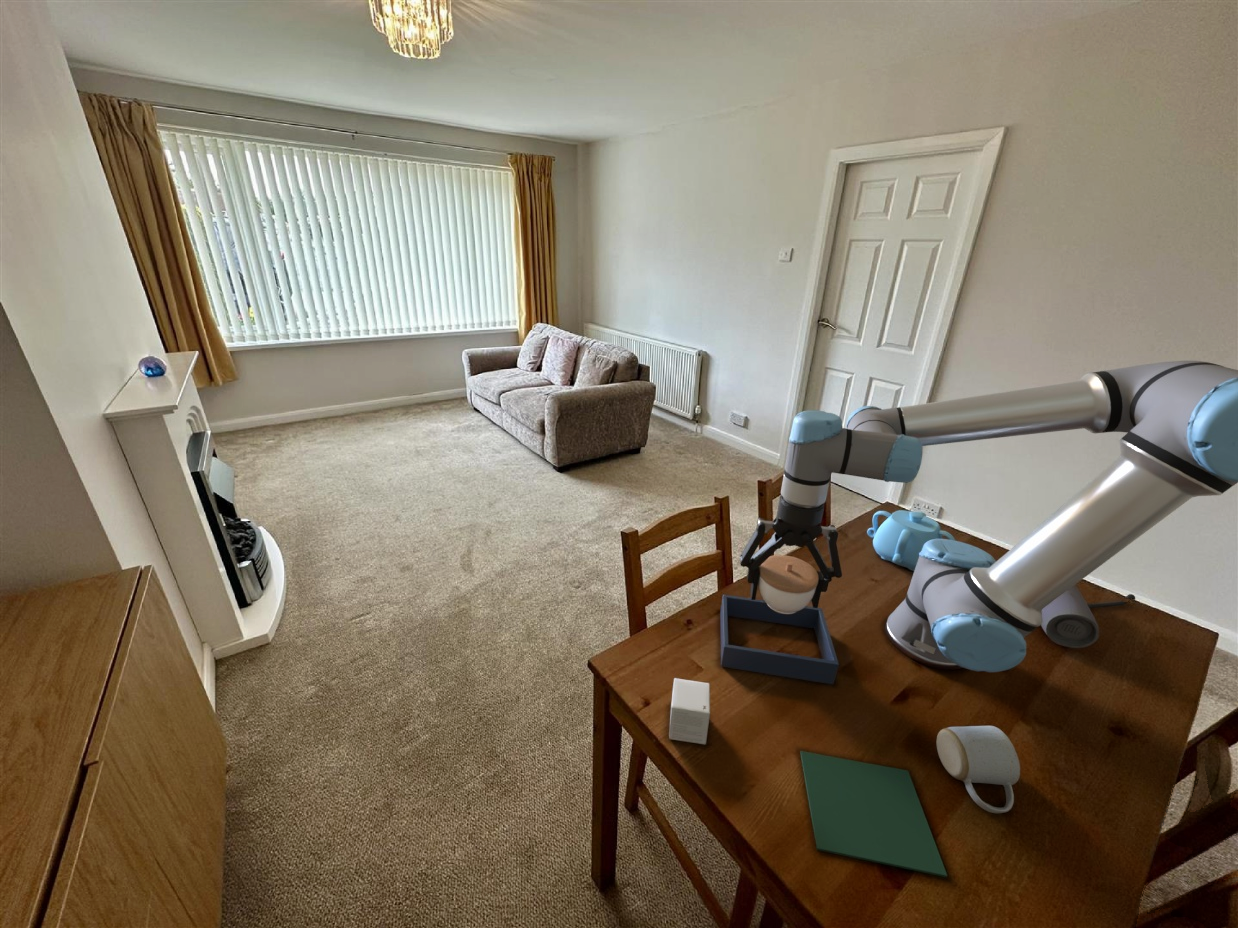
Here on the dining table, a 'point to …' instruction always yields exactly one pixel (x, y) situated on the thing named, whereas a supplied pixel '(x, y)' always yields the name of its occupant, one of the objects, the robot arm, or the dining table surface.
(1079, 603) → the bluetooth speaker
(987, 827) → the dining table surface
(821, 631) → the storage box
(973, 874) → the dining table surface
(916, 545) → the decorative pot
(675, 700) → the product box
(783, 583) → the trinket box
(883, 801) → the mat
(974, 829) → the dining table surface
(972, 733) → the ceramic mug
